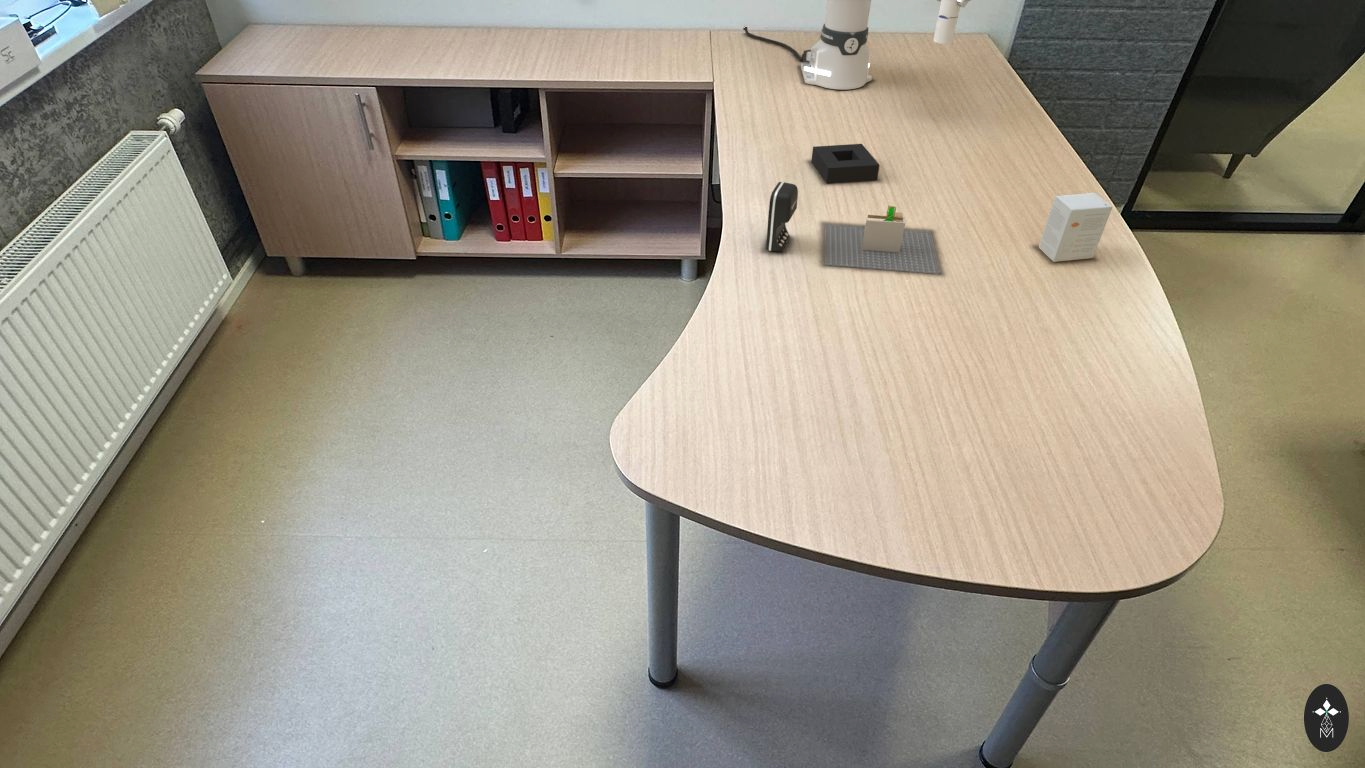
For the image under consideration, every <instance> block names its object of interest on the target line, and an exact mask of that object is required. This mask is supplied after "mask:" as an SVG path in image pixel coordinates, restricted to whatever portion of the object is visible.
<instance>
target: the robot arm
mask: <svg viewBox="0 0 1365 768" xmlns="http://www.w3.org/2000/svg"><path fill="white" fill-rule="evenodd" d="M936 1H937V2H940V3H941V0H936ZM970 1H971V0H957V4H958V6H960V8H965V7H966V6H967V4H968V3H969V2H970ZM871 4H872V0H826V6H825V19H824V23H823V25H822V29H821V31H820V36H819V38H820V39H819V40H818V41H817V42H815V44H813V46H811V48H810V49H804V50H803V53H802V54H801V57H800V55H799V53H798V52H797V51H796V49H794V48H792V47H791V46H790V45H788V44H786V43H783V42H781V41H779V40H774V39H770V38H766V37H764V36H763V37H762V36H760V35H759V36H758V35H757V34H756V35H755V34H753V33H751V32H749V29H748V26H747V27H745V26H744V27H745V28H744V27H743V28H742V30H743V31H744V32H745V34H746V35H747V36H748V37H750V38H752V39H756V40H759V41H763V42H766V43H771V44H775V45H778V46H781V47H783V48H785V49H787V50H788V51H790V52H791V53H793V55H794V56H795V58H796V59H797V60H798V61H800V62H801V63H800V69H801V73H802V77H803V81H804V83H805V84H807V85H812V86H817V87H821V88H825V89H831V90H843V91H844V90H854V89H859V88H862V87H864V86H865V85H866V84H867V83H869V82H872V81H873V75H872V74H869V68H870V65H871V63H870V57H871V49H870V48H869V47H868V46H867V43H868V37H869V27H868V26H869V18H870V11H871Z"/></svg>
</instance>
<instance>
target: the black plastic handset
mask: <svg viewBox="0 0 1365 768" xmlns="http://www.w3.org/2000/svg"><path fill="white" fill-rule="evenodd" d="M798 196H799V189H798V186H797V185H796V184H794V183H790V182H785V181H778V182H777V184H776V185H775V187H774V188H773V190H772V191H771V195H770V197H769V206H768V217H767V228H766V229H767V230H766V239H765V240H766V241H765V250H768V251H769V252H783V250H785V247H786V246H787V244H788V243H789V241H790V238H791V235H790V234H789V232H788V229H787V225H786V224H787V223H789V222H790V221H791V219H792V217H793V215H794V214H795V212H796V210H797V209H798V198H799V197H798Z"/></svg>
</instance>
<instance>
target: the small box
mask: <svg viewBox="0 0 1365 768" xmlns="http://www.w3.org/2000/svg"><path fill="white" fill-rule="evenodd" d="M1112 210H1113V206H1112V205H1111V204H1110V203H1109V202H1108V201H1106V200H1105V199H1104V198H1102V197H1101V196H1100V195H1099V194H1098V193H1096V192H1085V193H1077V194H1074V193H1073V194H1064V195H1055V196H1054V198H1053V202H1052V204H1051V208H1050V210H1049V214H1048V215H1047V216H1048V217H1047V220H1046V222H1045V226H1044V229H1043V232H1042V235H1041V237H1040V240H1039V244H1038V249H1040V251H1041V252H1043V253H1044V254H1045V255H1046V257H1048V258H1049V259H1050V261H1052V262H1053V263H1056V262H1068V261H1076V260H1077V261H1079V260H1086V259H1087V260H1089V259H1093V258H1094V256H1095V254H1096V251H1097V249H1098V245H1099V243H1100V241H1101V238H1102V236H1103V233H1104V231H1105V228H1106V225H1107V223H1108V220H1109V218H1110V215H1111V213H1112Z"/></svg>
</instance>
